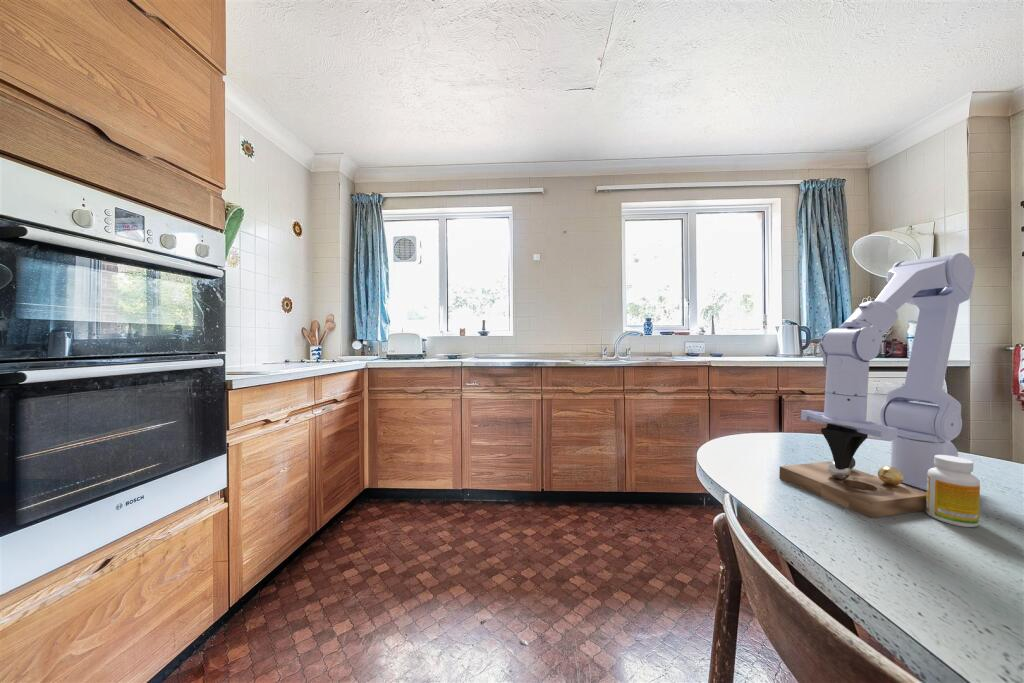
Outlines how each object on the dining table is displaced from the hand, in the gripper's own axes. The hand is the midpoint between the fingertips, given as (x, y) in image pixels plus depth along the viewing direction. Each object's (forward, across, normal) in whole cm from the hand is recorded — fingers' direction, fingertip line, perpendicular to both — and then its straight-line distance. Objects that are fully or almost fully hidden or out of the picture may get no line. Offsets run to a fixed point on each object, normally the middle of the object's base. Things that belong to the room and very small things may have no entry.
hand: (841, 468), depth 67 cm
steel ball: (+1, -1, +1) cm, 1 cm away
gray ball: (0, -4, +7) cm, 8 cm away
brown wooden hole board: (+5, 0, +2) cm, 5 cm away
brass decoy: (0, +3, +7) cm, 7 cm away
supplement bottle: (+5, +11, +8) cm, 14 cm away
